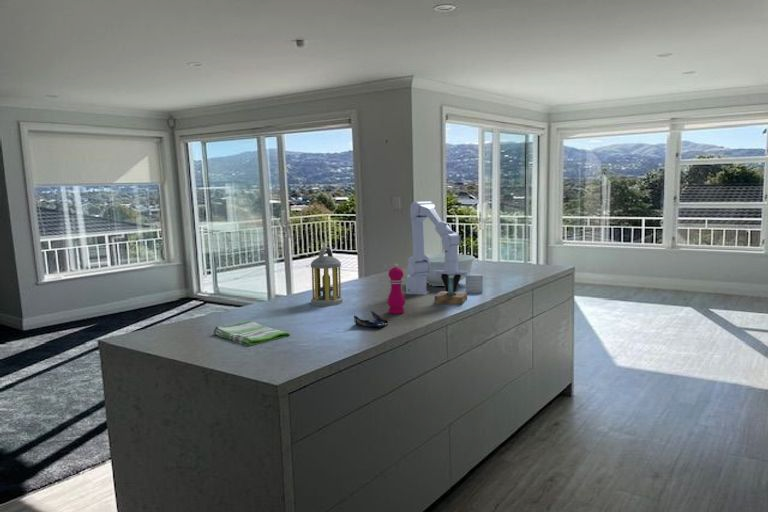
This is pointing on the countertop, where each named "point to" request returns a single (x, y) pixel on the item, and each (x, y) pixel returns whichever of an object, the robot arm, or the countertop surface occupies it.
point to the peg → (451, 286)
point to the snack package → (371, 323)
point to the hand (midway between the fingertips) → (451, 291)
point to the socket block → (450, 298)
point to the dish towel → (249, 333)
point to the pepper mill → (396, 291)
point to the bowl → (439, 264)
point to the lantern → (326, 279)
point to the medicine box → (474, 283)
